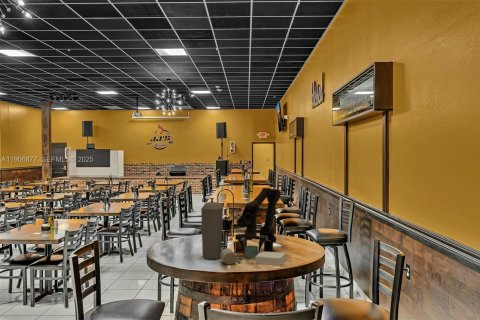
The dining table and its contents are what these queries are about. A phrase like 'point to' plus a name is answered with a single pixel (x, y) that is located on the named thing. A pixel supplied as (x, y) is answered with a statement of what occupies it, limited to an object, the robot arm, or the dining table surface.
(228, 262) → the ceramic mug
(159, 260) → the dining table surface
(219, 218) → the canister
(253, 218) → the robot arm
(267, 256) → the grey base
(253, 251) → the teal block
